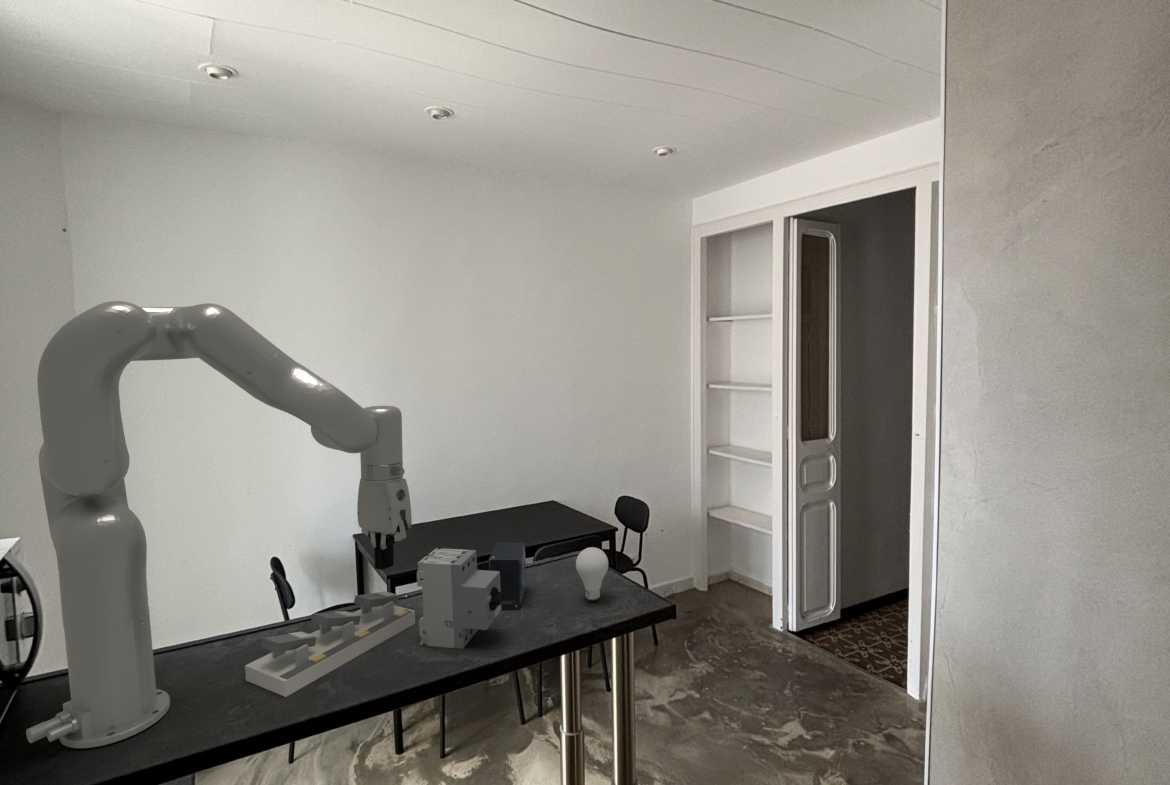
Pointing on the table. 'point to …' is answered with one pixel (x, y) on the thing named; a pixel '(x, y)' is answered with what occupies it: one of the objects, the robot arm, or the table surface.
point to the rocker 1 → (288, 641)
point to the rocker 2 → (335, 619)
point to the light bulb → (592, 570)
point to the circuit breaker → (456, 597)
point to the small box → (510, 572)
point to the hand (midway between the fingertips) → (384, 567)
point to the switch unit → (328, 649)
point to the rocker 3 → (375, 599)
